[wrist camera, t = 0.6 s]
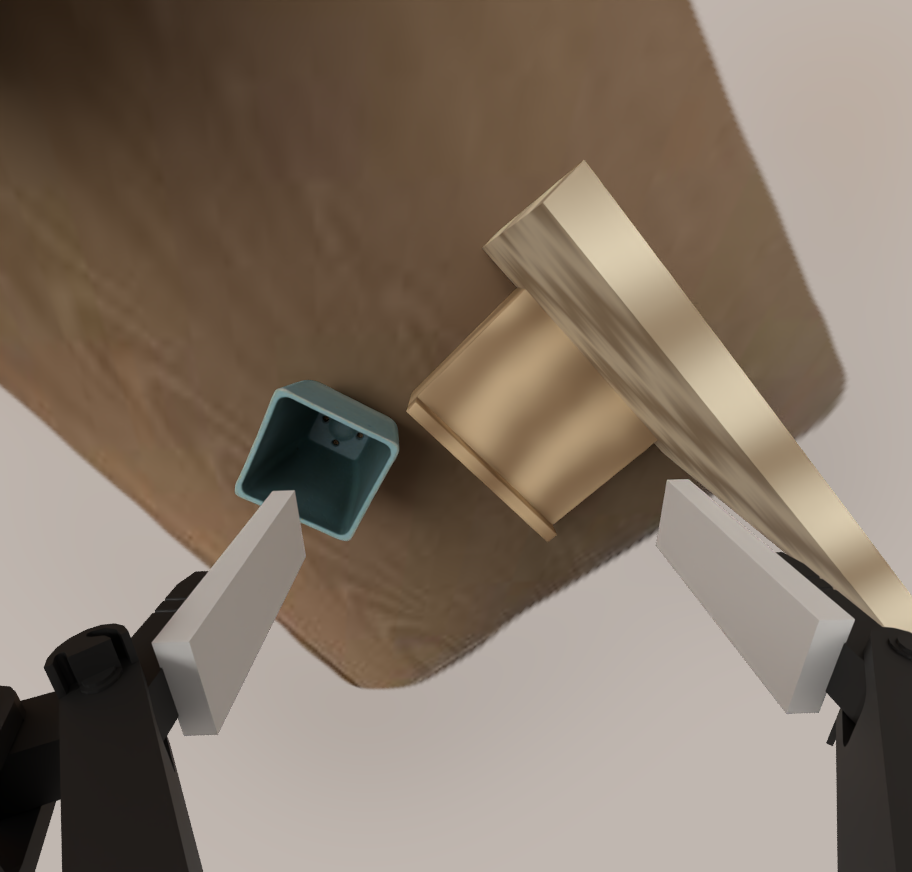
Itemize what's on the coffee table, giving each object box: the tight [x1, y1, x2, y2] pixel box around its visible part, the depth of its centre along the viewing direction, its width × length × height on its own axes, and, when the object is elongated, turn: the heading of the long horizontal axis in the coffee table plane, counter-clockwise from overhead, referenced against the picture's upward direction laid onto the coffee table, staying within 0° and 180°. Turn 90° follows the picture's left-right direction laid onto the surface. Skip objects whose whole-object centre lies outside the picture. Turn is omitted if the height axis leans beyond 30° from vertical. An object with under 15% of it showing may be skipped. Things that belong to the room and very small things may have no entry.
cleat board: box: [406, 160, 912, 633], centre depth 27 cm, size 24×14×22 cm, turn 45°
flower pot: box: [235, 380, 399, 541], centre depth 33 cm, size 9×9×9 cm
